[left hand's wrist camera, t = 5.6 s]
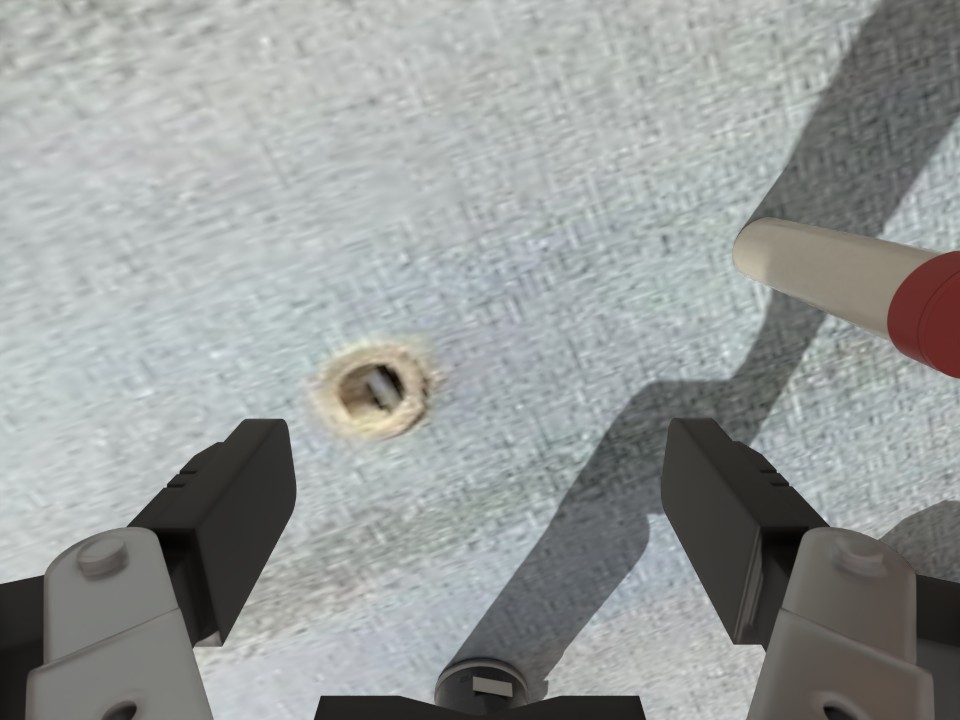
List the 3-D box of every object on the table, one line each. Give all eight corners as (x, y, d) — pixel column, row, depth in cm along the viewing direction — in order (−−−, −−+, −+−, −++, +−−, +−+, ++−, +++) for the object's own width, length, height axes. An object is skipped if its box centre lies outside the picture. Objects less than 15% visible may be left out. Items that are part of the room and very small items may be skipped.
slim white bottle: (807, 240, 39) (1060, 306, 22) (762, 290, 40) (968, 388, 23) (763, 204, 38) (992, 242, 21) (719, 256, 39) (900, 331, 22)
